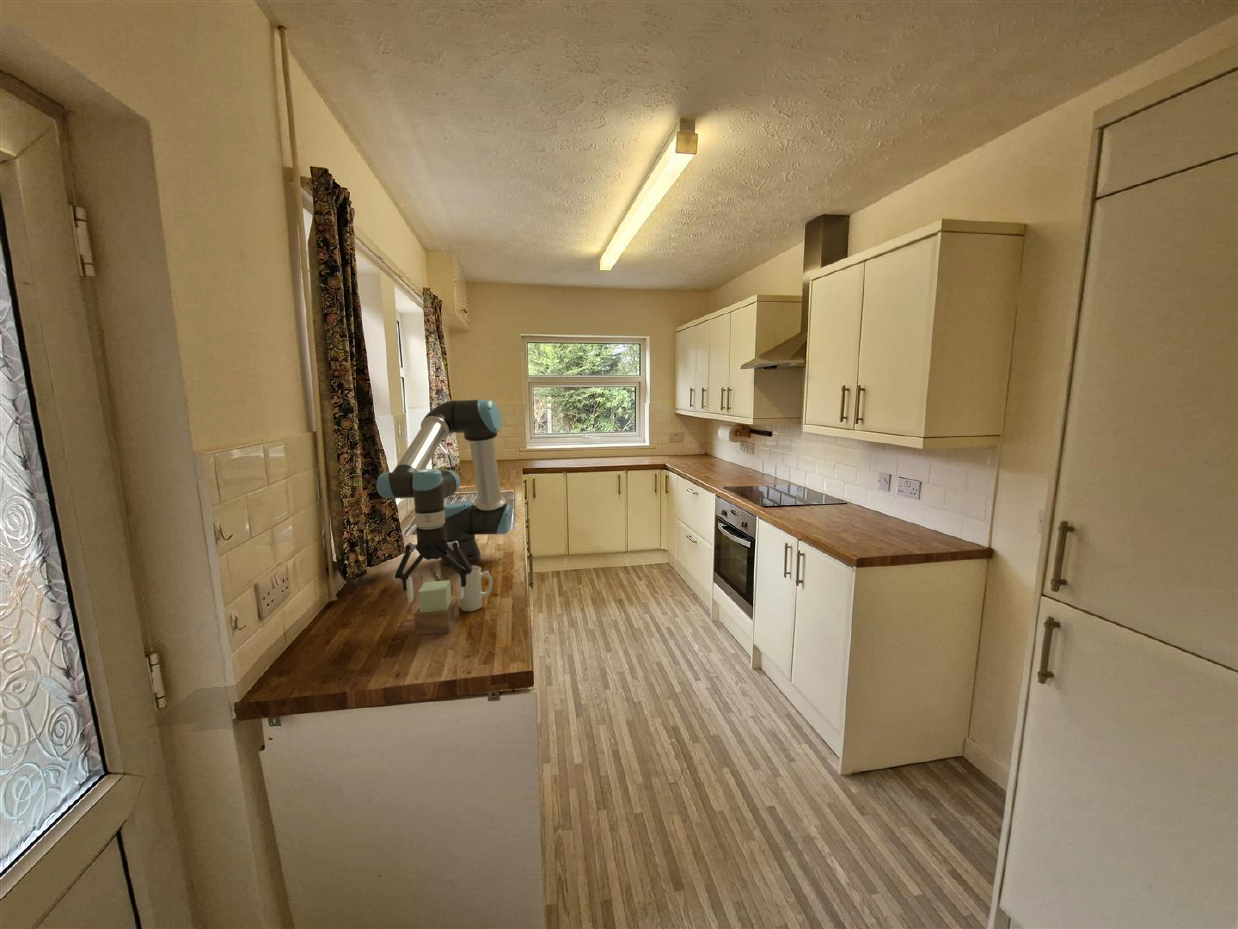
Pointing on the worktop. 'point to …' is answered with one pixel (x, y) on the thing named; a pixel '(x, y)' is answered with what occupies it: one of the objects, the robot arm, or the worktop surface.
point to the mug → (474, 589)
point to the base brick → (437, 620)
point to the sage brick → (434, 596)
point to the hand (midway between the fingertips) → (436, 599)
